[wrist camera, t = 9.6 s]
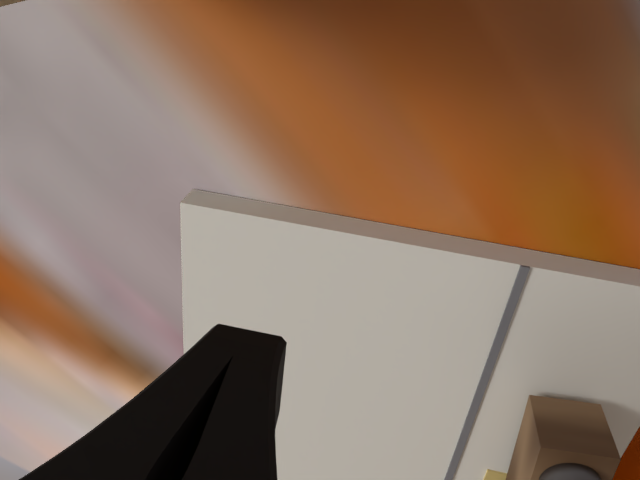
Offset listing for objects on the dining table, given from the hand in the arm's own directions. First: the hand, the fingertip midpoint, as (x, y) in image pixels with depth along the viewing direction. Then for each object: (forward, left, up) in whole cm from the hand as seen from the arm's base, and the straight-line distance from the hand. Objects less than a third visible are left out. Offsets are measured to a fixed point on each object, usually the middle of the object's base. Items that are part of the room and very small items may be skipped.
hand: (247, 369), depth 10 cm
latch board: (-4, +10, -10) cm, 15 cm away
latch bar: (-10, +12, -8) cm, 18 cm away
